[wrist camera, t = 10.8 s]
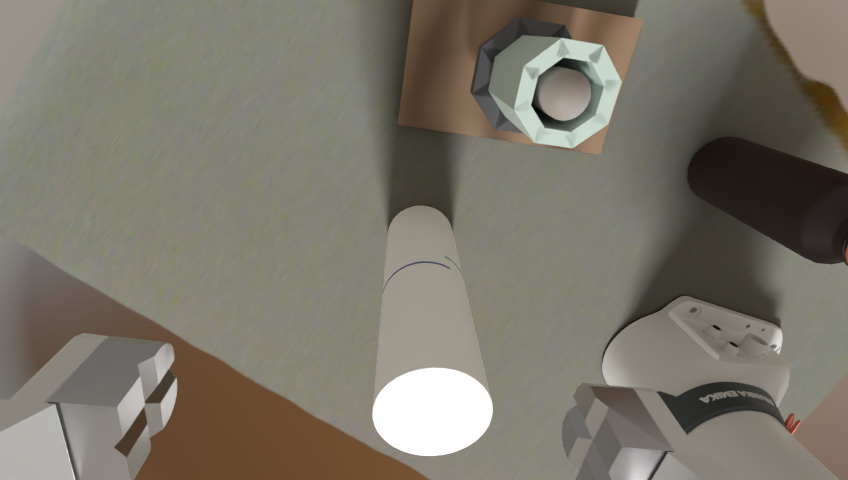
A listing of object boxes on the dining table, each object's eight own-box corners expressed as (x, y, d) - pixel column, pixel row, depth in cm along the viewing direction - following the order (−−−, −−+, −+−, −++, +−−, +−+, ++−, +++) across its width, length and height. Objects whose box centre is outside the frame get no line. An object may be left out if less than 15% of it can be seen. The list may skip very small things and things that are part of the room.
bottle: (679, 200, 48) (844, 303, 30) (693, 137, 45) (884, 211, 27) (741, 196, 48) (942, 297, 30) (758, 133, 45) (992, 204, 27)
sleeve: (576, 44, 35) (632, 49, 26) (554, 123, 37) (599, 152, 29) (500, 31, 34) (531, 32, 26) (483, 113, 37) (506, 138, 28)
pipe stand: (633, 20, 40) (760, 15, 26) (592, 149, 45) (679, 206, 31) (415, -20, 38) (421, -48, 24) (397, 120, 43) (394, 167, 29)
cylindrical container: (400, 196, 47) (395, 353, 24) (462, 217, 48) (513, 385, 26) (379, 253, 50) (356, 441, 27) (438, 271, 51) (464, 466, 28)
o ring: (588, 30, 36) (596, 30, 34) (558, 135, 39) (564, 139, 38) (484, 11, 35) (488, 11, 34) (464, 121, 39) (466, 125, 37)
